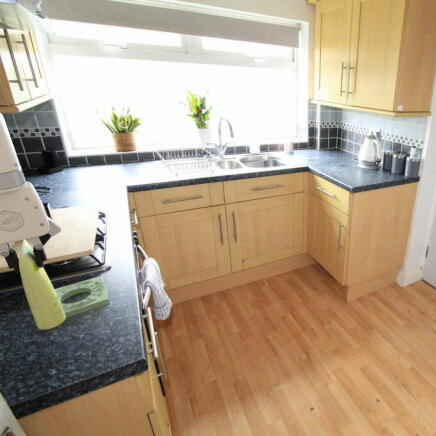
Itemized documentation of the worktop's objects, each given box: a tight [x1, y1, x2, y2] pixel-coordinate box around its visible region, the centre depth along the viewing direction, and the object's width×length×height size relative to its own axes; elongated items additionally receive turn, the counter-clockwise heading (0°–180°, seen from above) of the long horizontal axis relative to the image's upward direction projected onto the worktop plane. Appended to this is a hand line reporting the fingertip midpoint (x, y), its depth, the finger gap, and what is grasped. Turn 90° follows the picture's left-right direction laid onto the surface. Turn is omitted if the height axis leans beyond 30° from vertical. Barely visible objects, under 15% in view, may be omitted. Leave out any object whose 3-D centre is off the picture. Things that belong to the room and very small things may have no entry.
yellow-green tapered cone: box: [18, 239, 67, 330], centre depth 66 cm, size 6×5×20 cm
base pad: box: [54, 275, 111, 319], centre depth 91 cm, size 14×14×3 cm
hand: (30, 266), depth 64 cm, fingers closed on yellow-green tapered cone, 2 cm apart
